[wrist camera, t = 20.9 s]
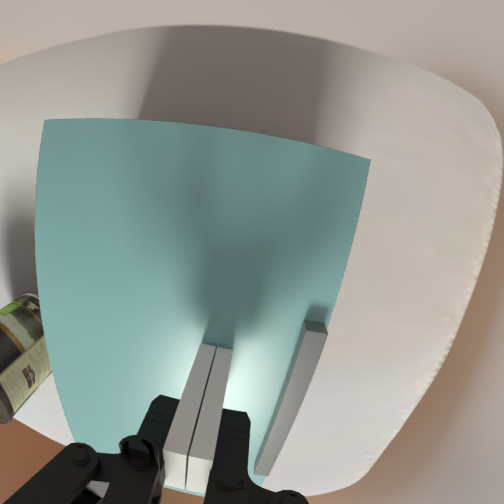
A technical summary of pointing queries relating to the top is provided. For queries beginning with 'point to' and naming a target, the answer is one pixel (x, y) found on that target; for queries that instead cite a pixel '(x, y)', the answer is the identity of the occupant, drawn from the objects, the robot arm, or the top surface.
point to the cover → (187, 268)
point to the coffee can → (21, 354)
